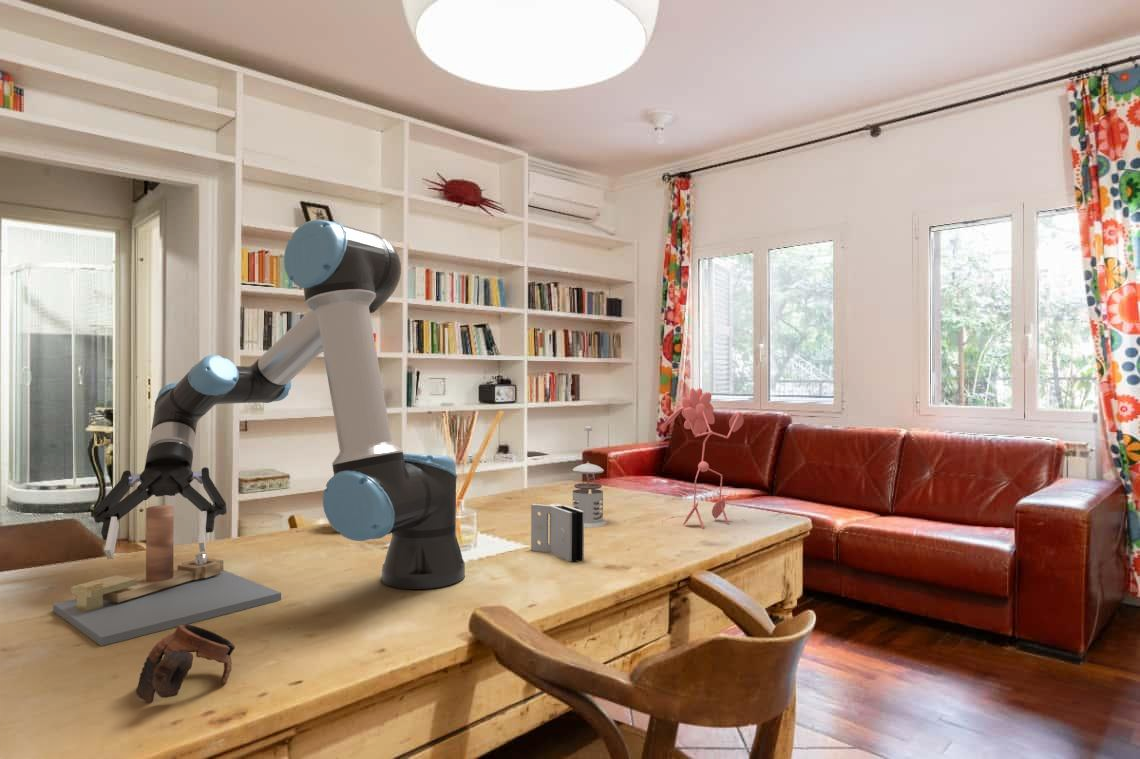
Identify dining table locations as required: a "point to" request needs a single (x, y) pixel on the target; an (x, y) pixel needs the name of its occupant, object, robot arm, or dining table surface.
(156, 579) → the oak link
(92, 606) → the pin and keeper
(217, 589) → the charcoal board
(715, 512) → the pink stick figure
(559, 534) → the hinge
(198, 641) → the brown curved piece
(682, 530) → the dining table surface
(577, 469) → the french press
